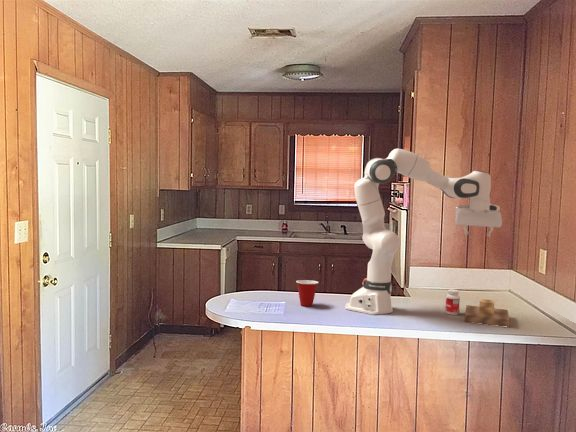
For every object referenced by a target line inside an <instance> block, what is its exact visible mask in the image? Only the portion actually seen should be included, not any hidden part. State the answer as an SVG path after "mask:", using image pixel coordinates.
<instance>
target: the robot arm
mask: <svg viewBox="0 0 576 432" xmlns="http://www.w3.org/2000/svg"><path fill="white" fill-rule="evenodd" d="M396 174H399V175H402V176H405V177H406V178H409V179H412V180H415V181H419V182H420V181H421V182H425V183H428V184H430V185H431V186H434V187H435V188H438V189H440V190H441V191H442V193H443V194H444V195H445V196H446V197H448V198H450V199H463V200H464V199H467V198H469V201H468V202H469V204H468V205H462V204H459V205H458V206H456V207H455V209H454V211H455V212H454V213H455V222H454V223H455V225H456V226H462V229H463V231H464V235H465V236H469V233H470V231H468V230H467V226H471V227H484V228H485V227H486V228H487V227H488V228H489V229H490V230H489V232H486V237H489V238H491V233H492V232H493V231H494V228H501V227H502V226H503V217H502V214H501V212H500V209H501V207H500V206H499V205H497V204H494V203H491V198H490V193H491V190H492V189H491V187H492V185H491V184H492V180H491V179H492V178H491V175H490V173H488V172H487V171H483V170H482V171H481V170H472V172H470V173H469V174H467V175H464V176H461V177H454V176H453V177H452V176H450V177H449V176H446V175H444V174H442V173H440V172H437V171H435V170H433V169H432V168H431V163H430V161H429V160H428V159H426V158H425V157H423V156H422V155H419V154H417V153H415V152H414V151H409V150H407V149H402V148H394V149H393V150H391V151H390V152H389V154H388V156H387V157H386V158H381V157H373V158H370V159H369V160H368V161H367V162H366V164H365V166H364V171H363V174H362V177H361V178H359V179H358V180H357V181H355V183H354V186H353V188H354V195H355V201H356V205H357V207H358V211H359V214H360V218H361V223H362V233H363V234H362V237H361V238H362V241H363V243H364V244H365V246H366V247H367V248H368V249H371V250H372V254H371V257H370V260H369V261H368V263H367V272H366V273H367V275H366V278H363V280H362V284H361V285H362V287H360V288H359V289H358V290H356V291H355V292H353V293H352V294H351V296H350V299H349V302H347V303H345V305H344V309H345V310H348V311H353V312H358V313H363V314H367V315H368V314H369V315H382V314H384V315H385V314H389V313H392V312H394V309H393V305H392V299H391V297H392V296H391V293H392V290H393V289H392V287H393V285H392V280H391V279H392V265H393V261H394V257H395V254H396V253H397V251H398V250H399V249H400V246H401V239H400V237H399V235H398V234H396V233H395V232H394V231H393V230H391V229H386V227H385V216H386V213H385V208H384V205H383V201H382V198H381V194H380V191H379V186H380V184H381V185H382V184H383V185H384V184H386V183H388V182H389V181H391V179H392V178H393V177H394V176H395V175H396Z"/></svg>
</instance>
